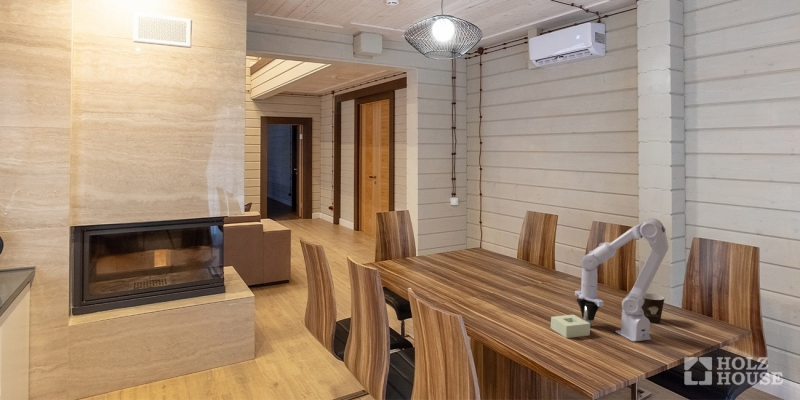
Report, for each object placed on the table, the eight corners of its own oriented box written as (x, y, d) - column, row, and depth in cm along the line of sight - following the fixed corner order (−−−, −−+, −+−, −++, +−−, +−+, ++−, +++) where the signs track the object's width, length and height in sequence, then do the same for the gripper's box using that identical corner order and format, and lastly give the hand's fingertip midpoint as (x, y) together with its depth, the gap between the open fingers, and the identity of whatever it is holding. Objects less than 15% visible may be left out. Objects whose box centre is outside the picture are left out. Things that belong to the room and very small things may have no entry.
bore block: (589, 335, 171) (590, 323, 171) (566, 338, 169) (566, 326, 168) (573, 325, 181) (573, 314, 180) (550, 328, 178) (551, 316, 178)
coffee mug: (665, 320, 186) (667, 296, 185) (659, 326, 180) (661, 301, 179) (634, 313, 194) (636, 290, 193) (628, 318, 188) (629, 295, 187)
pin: (593, 326, 179) (594, 307, 178) (586, 327, 178) (587, 307, 178) (588, 324, 182) (589, 304, 181) (581, 324, 181) (582, 305, 180)
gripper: (568, 280, 184) (567, 313, 186) (592, 290, 171) (591, 326, 172) (584, 279, 186) (582, 311, 188) (608, 289, 172) (607, 324, 174)
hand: (587, 318), depth 180 cm, fingers closed on pin, 3 cm apart
